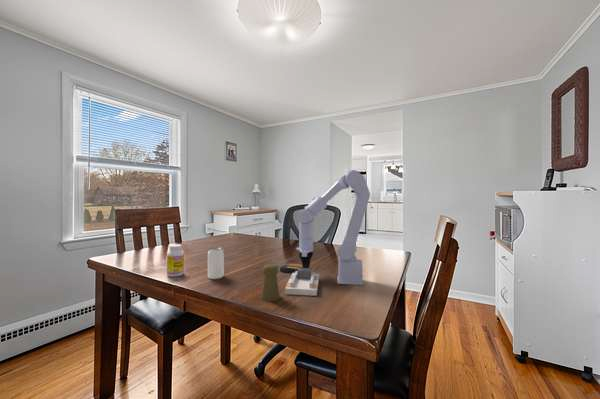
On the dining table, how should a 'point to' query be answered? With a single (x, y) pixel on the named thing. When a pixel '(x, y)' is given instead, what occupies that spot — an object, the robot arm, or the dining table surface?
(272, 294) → the green chess rook
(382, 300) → the dining table surface
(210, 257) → the can
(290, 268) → the ammunition clip
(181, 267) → the supplement bottle
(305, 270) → the switch tab
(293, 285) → the switch board
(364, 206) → the robot arm
